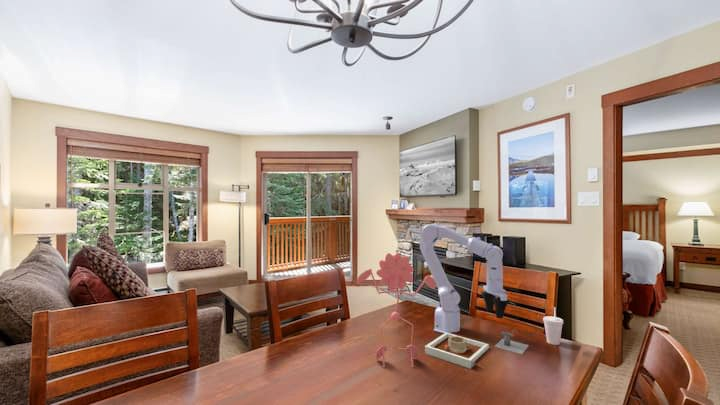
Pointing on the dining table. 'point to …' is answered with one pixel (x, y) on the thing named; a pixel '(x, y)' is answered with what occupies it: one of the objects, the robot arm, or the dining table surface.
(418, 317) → the dining table surface
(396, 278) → the figurine
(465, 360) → the tray
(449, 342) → the collar
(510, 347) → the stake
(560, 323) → the smoothie
